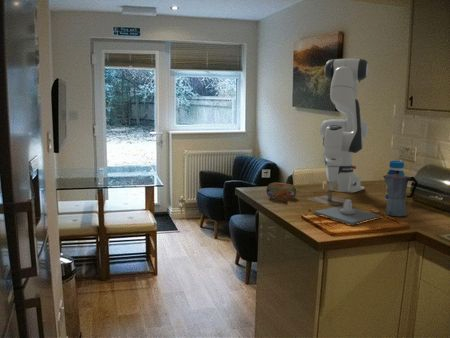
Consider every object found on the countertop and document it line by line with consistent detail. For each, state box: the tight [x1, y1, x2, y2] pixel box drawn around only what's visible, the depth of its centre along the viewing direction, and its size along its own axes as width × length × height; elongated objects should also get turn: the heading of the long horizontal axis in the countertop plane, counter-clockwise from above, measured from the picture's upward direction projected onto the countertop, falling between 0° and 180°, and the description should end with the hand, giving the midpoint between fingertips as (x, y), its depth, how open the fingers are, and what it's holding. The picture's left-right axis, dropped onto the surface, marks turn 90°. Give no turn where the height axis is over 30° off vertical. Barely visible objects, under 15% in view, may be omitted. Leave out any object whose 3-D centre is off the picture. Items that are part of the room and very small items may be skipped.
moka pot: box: [382, 170, 419, 217], centre depth 195 cm, size 10×15×20 cm, turn 51°
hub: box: [313, 198, 382, 226], centre depth 191 cm, size 20×20×8 cm
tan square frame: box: [322, 180, 338, 192], centre depth 214 cm, size 7×7×3 cm
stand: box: [307, 190, 354, 207], centre depth 214 cm, size 16×16×6 cm
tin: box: [266, 182, 297, 202], centre depth 219 cm, size 15×3×8 cm, turn 62°
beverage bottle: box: [384, 160, 406, 201], centre depth 223 cm, size 8×8×20 cm
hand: (330, 187), depth 214 cm, fingers closed on tan square frame, 7 cm apart
